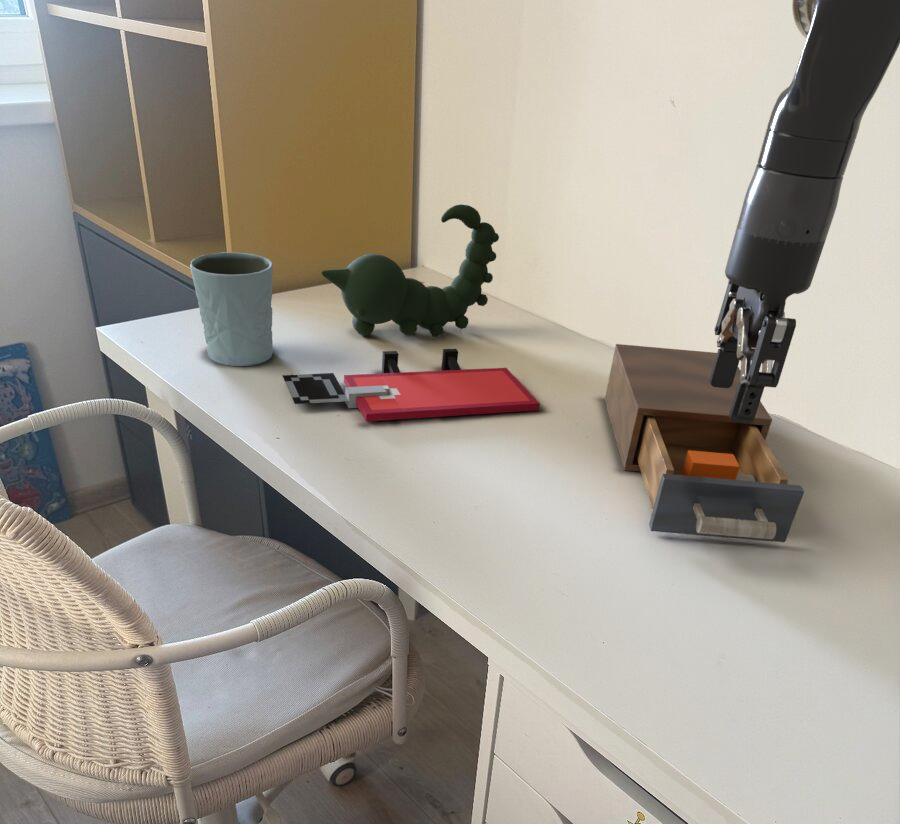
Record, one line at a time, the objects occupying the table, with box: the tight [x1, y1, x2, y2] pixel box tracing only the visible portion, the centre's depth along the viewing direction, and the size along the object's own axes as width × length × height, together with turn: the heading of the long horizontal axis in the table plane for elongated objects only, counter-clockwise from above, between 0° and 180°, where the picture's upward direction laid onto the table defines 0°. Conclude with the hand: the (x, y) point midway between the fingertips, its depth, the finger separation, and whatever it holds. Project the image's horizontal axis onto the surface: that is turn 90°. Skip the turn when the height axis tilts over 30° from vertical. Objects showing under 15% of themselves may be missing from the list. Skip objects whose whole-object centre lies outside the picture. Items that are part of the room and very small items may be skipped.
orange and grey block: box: [681, 450, 756, 482], centre depth 86 cm, size 7×3×4 cm, turn 88°
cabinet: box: [604, 343, 773, 473], centre depth 99 cm, size 20×15×8 cm
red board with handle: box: [282, 348, 541, 422], centre depth 105 cm, size 30×3×15 cm
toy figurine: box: [320, 204, 500, 338], centre depth 119 cm, size 9×19×25 cm
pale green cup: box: [189, 251, 274, 367], centre depth 109 cm, size 10×10×12 cm
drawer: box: [635, 415, 805, 543], centre depth 86 cm, size 23×13×6 cm, turn 178°
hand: (729, 403), depth 81 cm, fingers open, 8 cm apart
